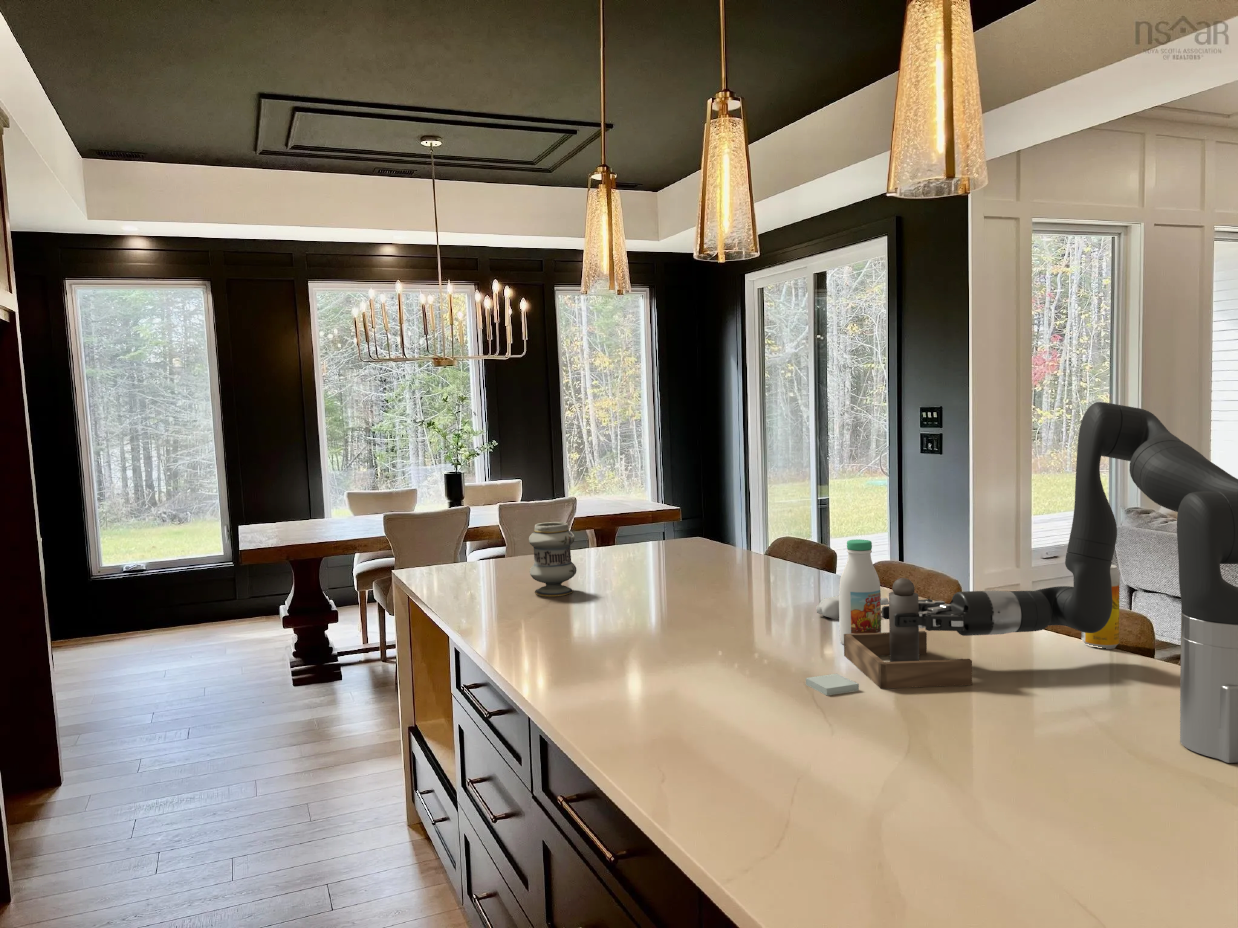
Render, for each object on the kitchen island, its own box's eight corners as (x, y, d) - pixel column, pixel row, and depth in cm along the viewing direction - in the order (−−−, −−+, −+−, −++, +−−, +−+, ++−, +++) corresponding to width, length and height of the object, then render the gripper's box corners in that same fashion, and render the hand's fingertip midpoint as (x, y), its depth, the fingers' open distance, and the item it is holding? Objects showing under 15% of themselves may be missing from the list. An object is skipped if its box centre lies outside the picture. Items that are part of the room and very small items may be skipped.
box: (972, 684, 136) (972, 660, 136) (880, 688, 135) (880, 663, 135) (924, 652, 155) (924, 630, 155) (844, 655, 154) (843, 633, 154)
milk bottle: (835, 646, 160) (834, 542, 159) (844, 636, 167) (843, 536, 166) (876, 650, 157) (876, 544, 156) (884, 640, 164) (883, 538, 163)
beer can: (1124, 650, 153) (1124, 568, 152) (1087, 649, 154) (1088, 568, 154) (1111, 641, 159) (1112, 562, 158) (1076, 640, 160) (1077, 562, 160)
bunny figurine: (808, 596, 187) (866, 583, 192) (811, 618, 188) (869, 604, 192) (831, 605, 178) (891, 590, 182) (834, 628, 179) (894, 613, 183)
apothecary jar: (526, 590, 221) (524, 522, 220) (570, 586, 225) (568, 519, 224) (535, 599, 210) (533, 527, 209) (582, 595, 213) (580, 524, 212)
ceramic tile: (858, 693, 135) (858, 683, 135) (826, 698, 133) (826, 688, 133) (836, 682, 140) (836, 673, 140) (805, 687, 138) (805, 677, 138)
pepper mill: (923, 666, 143) (922, 580, 142) (895, 667, 143) (894, 581, 142) (912, 658, 148) (911, 574, 147) (885, 659, 147) (884, 576, 147)
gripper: (966, 583, 152) (873, 586, 151) (1006, 600, 138) (903, 604, 137) (966, 624, 153) (874, 627, 152) (1006, 645, 138) (904, 649, 138)
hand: (888, 616), depth 144 cm, fingers open, 5 cm apart
